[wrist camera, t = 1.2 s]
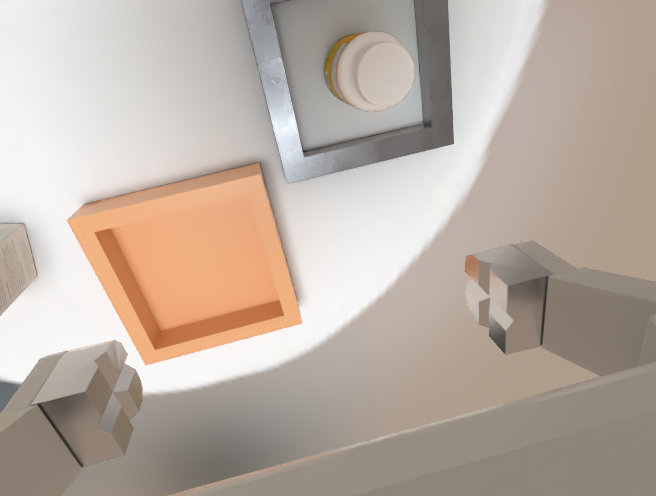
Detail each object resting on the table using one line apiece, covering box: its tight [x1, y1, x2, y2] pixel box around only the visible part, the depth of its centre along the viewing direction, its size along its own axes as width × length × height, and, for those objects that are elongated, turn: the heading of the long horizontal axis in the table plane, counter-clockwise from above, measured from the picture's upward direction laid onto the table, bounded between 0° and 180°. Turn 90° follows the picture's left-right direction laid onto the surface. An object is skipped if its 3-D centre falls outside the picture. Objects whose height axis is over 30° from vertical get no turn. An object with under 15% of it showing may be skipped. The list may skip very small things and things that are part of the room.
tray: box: [67, 163, 302, 365], centre depth 38 cm, size 16×16×4 cm
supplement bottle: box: [324, 31, 415, 112], centre depth 31 cm, size 5×5×10 cm
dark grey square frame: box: [241, 0, 454, 184], centre depth 34 cm, size 16×16×2 cm
